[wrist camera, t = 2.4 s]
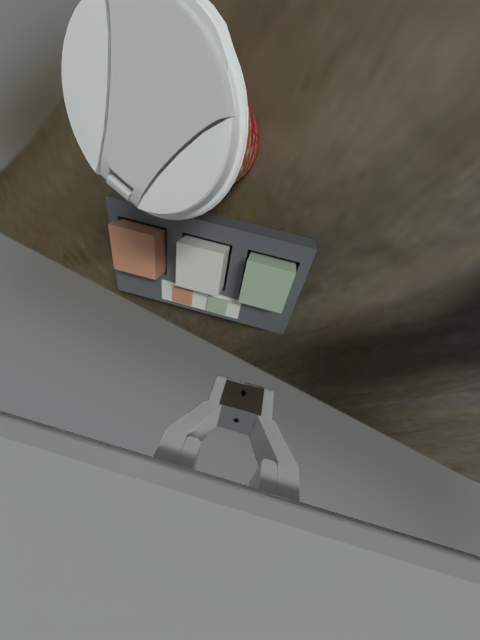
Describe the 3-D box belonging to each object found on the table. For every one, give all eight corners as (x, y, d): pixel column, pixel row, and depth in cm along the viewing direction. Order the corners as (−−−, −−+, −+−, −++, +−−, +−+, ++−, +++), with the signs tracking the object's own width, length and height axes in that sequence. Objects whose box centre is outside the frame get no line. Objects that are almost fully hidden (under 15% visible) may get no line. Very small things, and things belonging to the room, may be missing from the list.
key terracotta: (166, 229, 22) (154, 236, 21) (166, 270, 25) (155, 279, 23) (123, 218, 23) (107, 223, 21) (128, 260, 25) (114, 269, 23)
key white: (230, 246, 22) (224, 254, 20) (223, 286, 25) (217, 296, 23) (186, 234, 22) (176, 241, 20) (184, 275, 25) (175, 285, 23)
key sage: (296, 263, 22) (296, 272, 20) (282, 301, 24) (281, 313, 23) (251, 251, 22) (247, 260, 20) (242, 291, 25) (238, 302, 23)
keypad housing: (314, 238, 23) (317, 251, 20) (284, 317, 29) (283, 337, 26) (127, 191, 24) (101, 196, 21) (134, 277, 30) (115, 291, 27)
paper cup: (234, 210, 23) (177, 258, 12) (171, 150, 21) (32, 137, 10) (292, 133, 19) (292, 93, 8) (221, 49, 17) (78, -170, 6)
